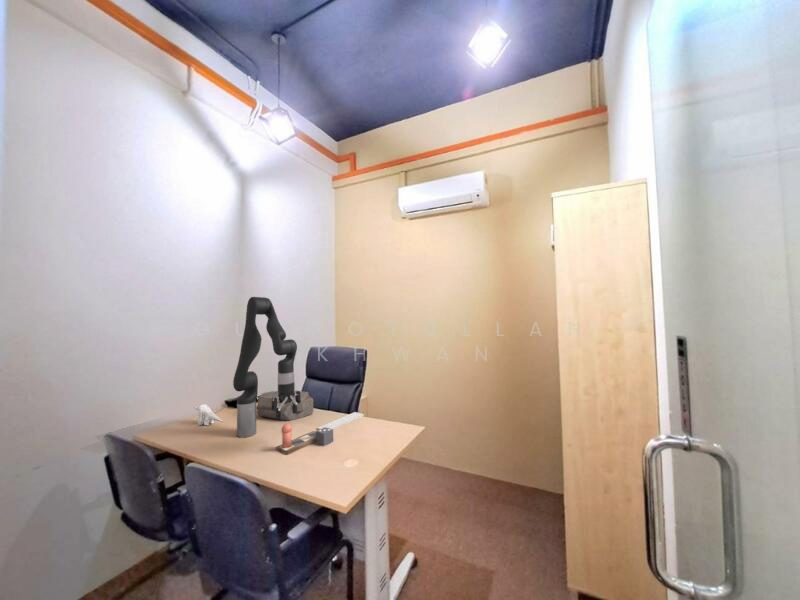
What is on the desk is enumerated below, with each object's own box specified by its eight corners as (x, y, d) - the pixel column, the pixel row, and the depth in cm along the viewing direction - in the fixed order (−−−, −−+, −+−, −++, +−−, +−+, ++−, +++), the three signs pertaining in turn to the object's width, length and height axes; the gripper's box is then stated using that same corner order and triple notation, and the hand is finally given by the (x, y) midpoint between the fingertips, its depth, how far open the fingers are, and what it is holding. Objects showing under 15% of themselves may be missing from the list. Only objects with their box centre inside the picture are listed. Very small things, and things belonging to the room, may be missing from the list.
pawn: (279, 447, 143) (279, 424, 144) (288, 443, 147) (287, 421, 147) (285, 449, 141) (285, 426, 141) (294, 445, 145) (293, 423, 145)
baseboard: (314, 429, 169) (326, 433, 164) (314, 424, 169) (326, 428, 164) (352, 413, 194) (363, 416, 188) (352, 408, 194) (363, 411, 188)
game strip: (276, 449, 144) (276, 446, 144) (313, 433, 162) (313, 430, 162) (287, 454, 139) (287, 451, 139) (324, 437, 157) (324, 434, 157)
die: (315, 443, 151) (315, 430, 151) (325, 438, 155) (325, 426, 156) (324, 446, 147) (323, 433, 147) (333, 441, 152) (333, 429, 152)
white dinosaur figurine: (198, 418, 187) (200, 400, 186) (227, 427, 178) (229, 408, 178) (187, 422, 180) (189, 404, 180) (217, 431, 172) (218, 412, 172)
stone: (322, 409, 200) (320, 386, 200) (295, 425, 175) (293, 400, 176) (278, 406, 214) (277, 385, 214) (247, 421, 189) (245, 397, 189)
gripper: (294, 377, 153) (294, 410, 152) (267, 384, 141) (268, 419, 141) (303, 379, 149) (304, 412, 148) (277, 386, 137) (278, 422, 136)
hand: (286, 415), depth 144 cm, fingers open, 8 cm apart
